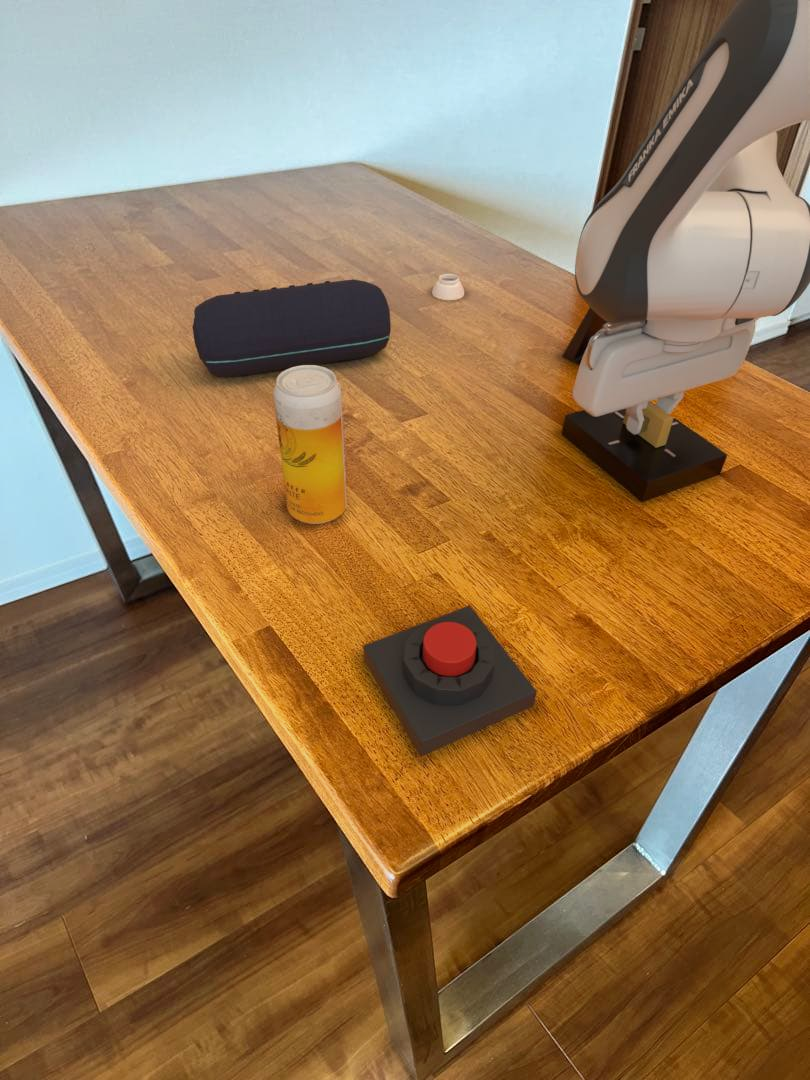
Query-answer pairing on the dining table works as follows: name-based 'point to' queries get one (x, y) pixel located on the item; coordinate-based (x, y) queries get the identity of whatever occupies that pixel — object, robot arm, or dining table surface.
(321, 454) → the beer can
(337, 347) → the portable speaker
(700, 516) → the dining table surface
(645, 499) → the plate
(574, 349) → the phone stand
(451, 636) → the button
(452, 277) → the lidless jar
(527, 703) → the button base
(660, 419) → the thumb turn
